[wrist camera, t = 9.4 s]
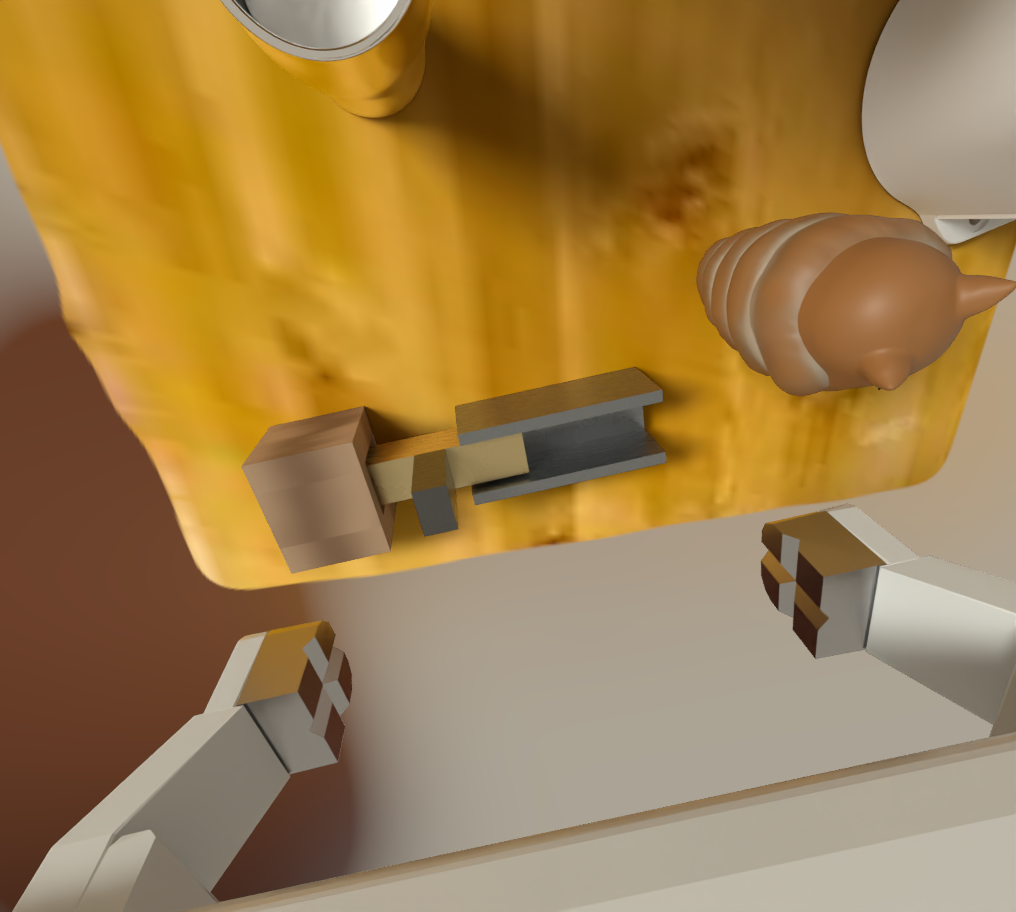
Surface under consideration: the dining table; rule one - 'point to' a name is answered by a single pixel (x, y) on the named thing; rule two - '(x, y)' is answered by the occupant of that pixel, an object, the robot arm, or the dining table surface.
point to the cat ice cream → (840, 299)
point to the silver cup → (344, 47)
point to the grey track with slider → (567, 431)
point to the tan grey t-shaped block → (440, 472)
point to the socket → (320, 490)
